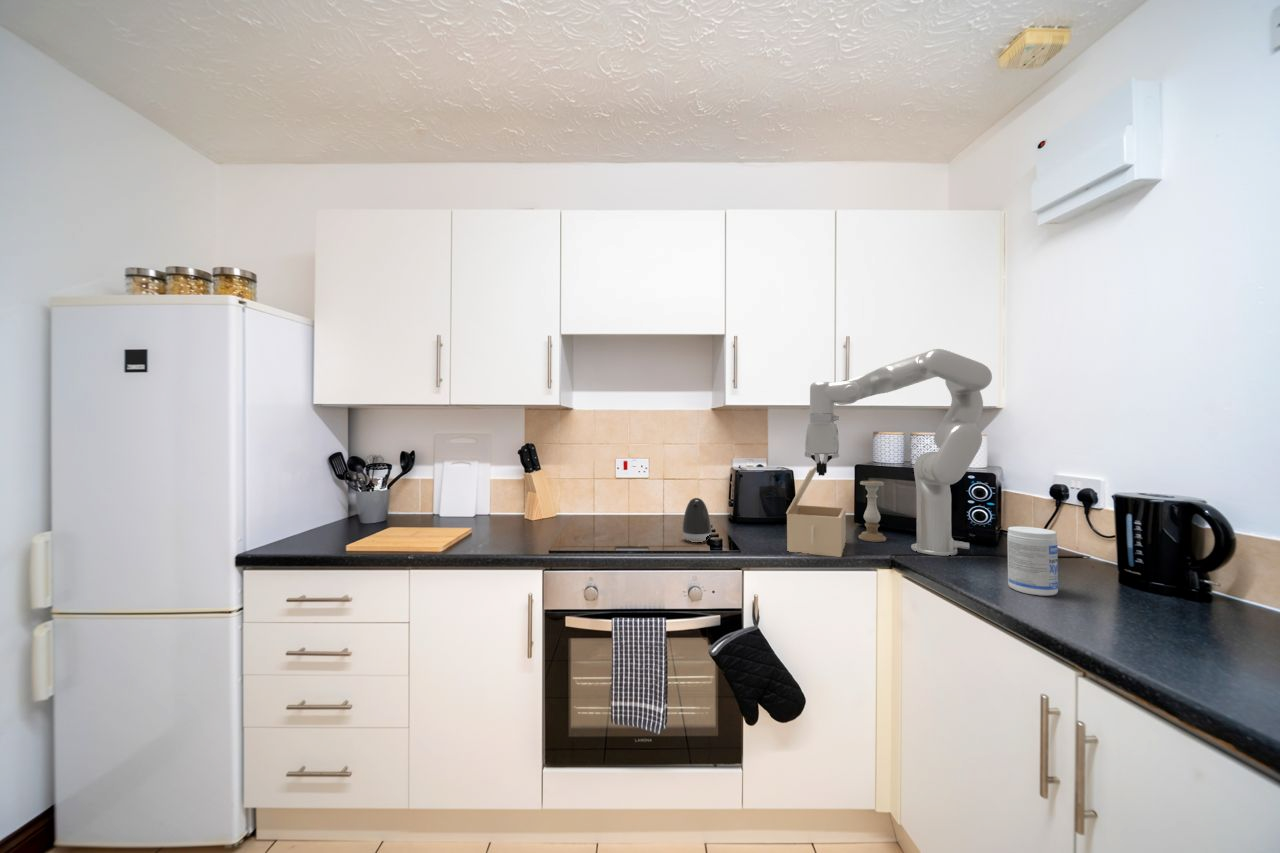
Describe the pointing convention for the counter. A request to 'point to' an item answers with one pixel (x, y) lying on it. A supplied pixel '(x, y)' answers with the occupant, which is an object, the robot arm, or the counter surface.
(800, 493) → the lid flap
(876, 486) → the candle holder
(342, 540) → the counter surface
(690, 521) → the dark grey domed cylinder
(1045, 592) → the supplement tub
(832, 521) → the carton
